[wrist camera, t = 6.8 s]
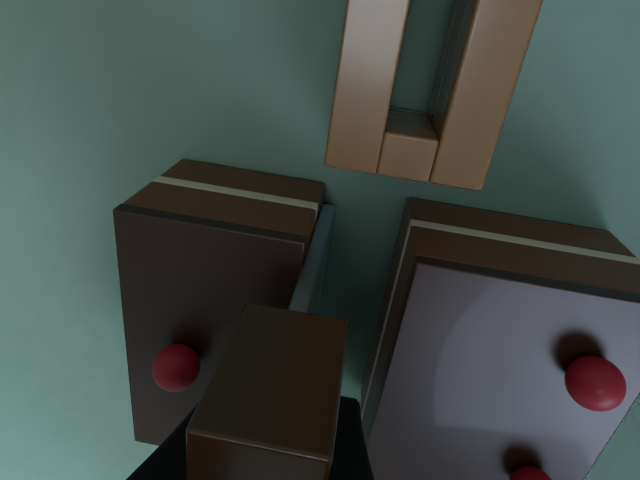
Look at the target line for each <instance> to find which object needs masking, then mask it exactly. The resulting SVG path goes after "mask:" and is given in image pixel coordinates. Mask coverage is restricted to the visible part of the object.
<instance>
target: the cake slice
mask: <svg viewBox="0 0 640 480" xmlns="http://www.w3.org/2000/svg"><path fill="white" fill-rule="evenodd" d="M324 188H325V185H324V184H323V183H320V182H314V181H308V180H302V179H296V178H290V177H284V176H278V175H272V174H266V173H260V172H255V171H249V170H243V169H237V168H231V167H225V166H219V165H213V164H207V163H201V162H195V161H189V160H184V159H183V160H180V161H179V162H178V163H176V164H175V165H174V166H172V167H171V168H170V169H168V170H167V171H166V172H164V173H163V174H162V175H161V176H158V177H156V178H155V179H154V180H153V182H151V183H149V184H148V185H147V186H145V187H144V188H143V189H141V190H140V191H138V192H137V193H136V194H134V195H133V196H132V197H130V198H129V199H128V200H126V201H125V202H124V203H123V204H120V205H118V206H117V207H116V208H114V209H113V216H114V226H115V236H116V247H117V257H118V268H119V278H120V289H121V299H122V310H123V320H124V330H125V341H126V351H127V362H128V372H129V383H130V393H131V404H132V414H133V425H134V435H135V441H139V442H144V443H149V444H154V445H158V446H160V445H161V444H162V443H163V442H164V440H165V439H166V438H167V437H168V436H169V435H170V434H171V433H172V432H173V431H174V430H175V428H176V427H177V426H178V425H179V424H180V423H181V422H182V421H183V420H184V418H185V417H186V416H187V415H188V414H189V413H190V411H191V410H192V409H193V408H194V407H195V406H196V404H197V403H198V402H199V401H200V399H201V397H202V395H203V392H204V390H205V388H206V386H207V384H208V382H209V380H210V378H211V376H212V374H213V371H214V369H215V367H216V365H217V363H218V361H219V359H220V357H221V355H222V353H223V351H224V348H225V346H226V344H227V342H228V340H229V338H230V336H231V334H232V332H233V330H234V327H235V325H236V323H237V321H238V319H239V317H240V315H241V313H242V311H243V309H244V307H245V305H246V303H248V302H251V303H256V304H261V305H267V306H272V307H277V308H283V309H288V308H289V305H290V302H291V299H292V296H293V293H294V290H295V287H296V283H297V280H298V277H299V274H300V271H301V268H302V265H303V262H304V259H305V256H306V253H307V250H308V247H309V244H310V241H311V238H312V234H313V231H314V228H315V225H316V222H317V219H318V216H319V213H320V210H321V207H322V202H323V195H324Z"/></svg>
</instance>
